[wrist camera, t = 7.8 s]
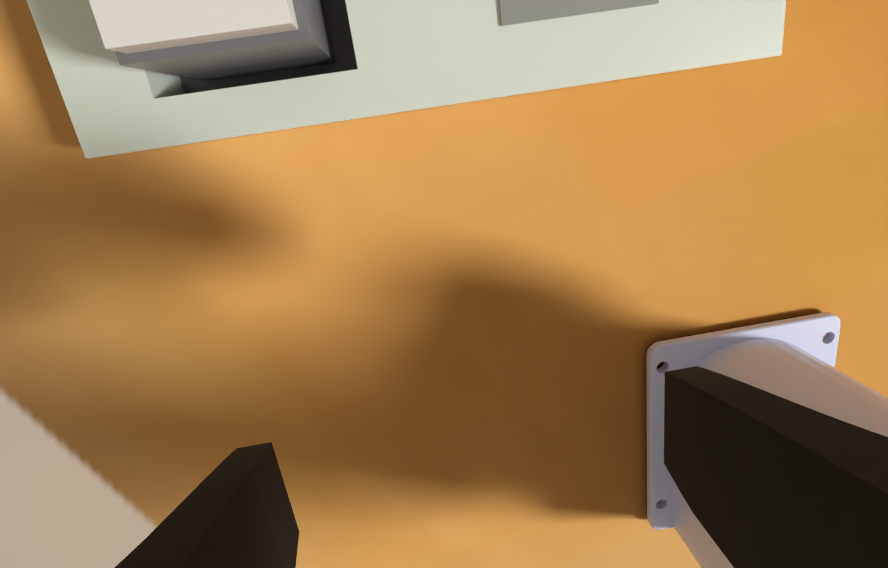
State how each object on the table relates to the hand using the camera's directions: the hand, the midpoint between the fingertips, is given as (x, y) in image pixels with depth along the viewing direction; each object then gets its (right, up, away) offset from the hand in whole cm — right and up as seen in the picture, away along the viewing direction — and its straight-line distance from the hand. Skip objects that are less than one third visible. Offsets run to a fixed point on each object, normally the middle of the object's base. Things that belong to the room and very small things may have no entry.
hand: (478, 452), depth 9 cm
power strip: (+2, +13, +6) cm, 15 cm away
